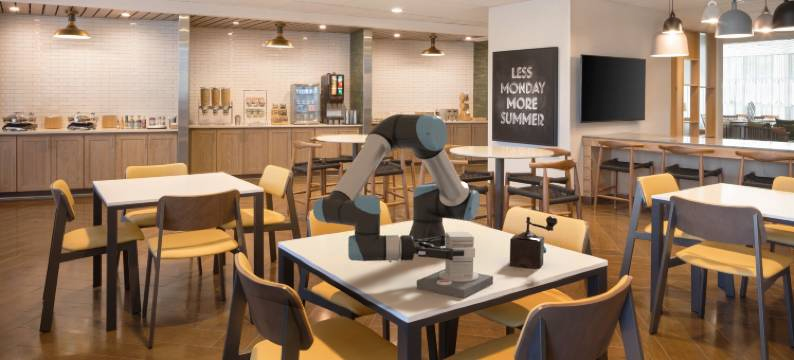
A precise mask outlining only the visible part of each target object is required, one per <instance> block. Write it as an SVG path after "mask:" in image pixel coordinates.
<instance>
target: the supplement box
mask: <svg viewBox="0 0 794 360" xmlns="http://www.w3.org/2000/svg"><path fill="white" fill-rule="evenodd" d="M445 233H446V247H445V248H449V249H453V248H475V245H474V244H475V243H474V241H475V237H474V236H473V234H472V233H470V232H469V231H445ZM444 264H445V268H444V269H445V272H446V273H447V274H448V276H449V278H473V272H474V257H458V258H453V260H452V261H450V260H449V259H445V262H444Z"/></svg>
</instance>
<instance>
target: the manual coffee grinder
mask: <svg viewBox="0 0 794 360" xmlns="http://www.w3.org/2000/svg"><path fill="white" fill-rule="evenodd" d="M525 219H526V221H525V223H526V228H525V229H526V230H525V231H523V232H520V233H515V234H514V235H513V236H512V237H511V238H510V243H509V264H508V265H509V267H513V268H514V267H516V268H522V269H526V268H527V269H538V270H539V269H541V268H542V267H543V266H544V254H545V252H544V247H545V236H543V235H542V236H541V235H537V234H535V233H534V232H532V231H531V232H530V225H531V226H533V227H537V228H540V229H544V230H546V231H547V232H549V231H551V232H553V231H554V228H555V226H556V225H557V224H558V219H557V218H556V217H555V216H552V215H549V216H547V217H546V219H545V222H546V225H545V226H544V225H542V224H538V223H533V222H531V217H530V216H527V217H526V218H525Z"/></svg>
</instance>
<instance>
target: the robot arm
mask: <svg viewBox="0 0 794 360" xmlns="http://www.w3.org/2000/svg"><path fill="white" fill-rule="evenodd" d="M447 141H448V132H447V126H446V123H445V121H444V120H443V118H441V117H440V116H439V115H436V114H433V115H432V114H430V113H429V114H428V113H425V114H424V113H423V114H414V113H413V114H411V113H410V114H405V113H404V114H403V113H397V114H393V115H390V116H388V117H386V118H384V119H383V120H382V121H379V123H377V124H376V125H375V126H373V128H372V129H371V130H370V132H369V133H368V134H367V136H366V137H365V139H364V143H365V144H364V145H363V147H362V148H361V149H360V151H359V152H358V154H357V155H356V157H355V158H354V160H353V161H352V163H350V165H349V166H348V167H347V170H345V172H344V173H343V175H342V176H341V178H340V179H339V181H338V182H337V183H336V185H335V186H334V188H333V189H332V190H331V192H330V193H329V195H328V196H327V197H325V196H324V197H319V198H317V199H316V200H315V202H314V203H313V207H312V213H313V216H314V218H315V220H316V221H318V222H320V223H321V222H322V223H327V224H334V225H335V224H336V225H344V226H350V227H351V226H352V227H354V234H353V235H349V236H348V239H347V243H348V246H347V248H348V249H347V253H348V255H347V256H348V259H349V260H350V261H355V262H356V261H357V262H360V261H361V262H371V261H372V262H373V261H374V262H375V261H376V262H377V261H379V262H380V261H381V262H382V261H384V262H386V261H388V263H392V262H393V261H399V260H401V261H413V260H414V259H415V258H414V257H415V255H418V256H417V257H418V258H430V259H439V260H440V259H441V260H446V259H449V260H450V261H452V260H453V258H458V257H473V258H476V247H474V248H453V249H449V248H446V230H445V227H444V224H443V219H448V220H449V219H450V220H458V221H463V222H464V221H471V222H472V221H474V219H476V217H477V215H478V212H479V207H480V203H481V202H480V193H479V191H478V190H475V189H473V190H472V189H470V187H469V186H468V184H467V183H466V182H465V181H463V180H461V179H460V177H459V175H458V173H457V171H456V169H455V167H454V165H453V162H452V161H451V159H450V157H449V155H448V153H447V151H446V149H445V147H446V145H447ZM396 149H403V150H411V152H412V154H413V155H414V157H415V158H417V159H418V160H421V161H422V162H423V163H424V166H425V167H426V169H427V171H428V172H429V175H430V177H431V178H432V180H433V182H434V183H429V184H427V183H426V184H422V185H416V186H415V187H414V188H413V194H412V195H413V196H412V205H413V206H412V208H413V209H412V225H411V228H410V231H409V234H406V235H405V234H403V235H401V236H399V235H398V234H395V235H394V234H391V235H390V234H386V235H381V212H382V211H381V200H380V198H379V196H377V195H373V194H360V193H361V192H362V190H363V189H364V187H365V186H366V184H367V183H368V181H369V180H370V178H371V177H372V175H373V174H374V172H375V171H376V169H377V168H378V166H379V165H380V164H381V162H382V160H383V159H384V157H387V156H389V155H390V154H391V152H392V151H394V150H396Z"/></svg>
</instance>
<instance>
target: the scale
mask: <svg viewBox="0 0 794 360" xmlns="http://www.w3.org/2000/svg"><path fill="white" fill-rule="evenodd" d="M493 284H494V276H493V275H489V274H482V273H479V272H474V271H473V278H449V276H448V274H447V273H446V272H445V268H444V269H442V270H439V271H437V272H434V273H432V274H430V275H427V276H425V277H422V278H420V279H416V289H419V290H424V291H428V292H432V293H438V294H442V295H448V296H452V297H457V298H461V299H465V298H467V297H469V296H471V295H473V294H475V293H477V292H479V291H482V290H483V289H485V288H487V287H489V286H492V285H493Z"/></svg>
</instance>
